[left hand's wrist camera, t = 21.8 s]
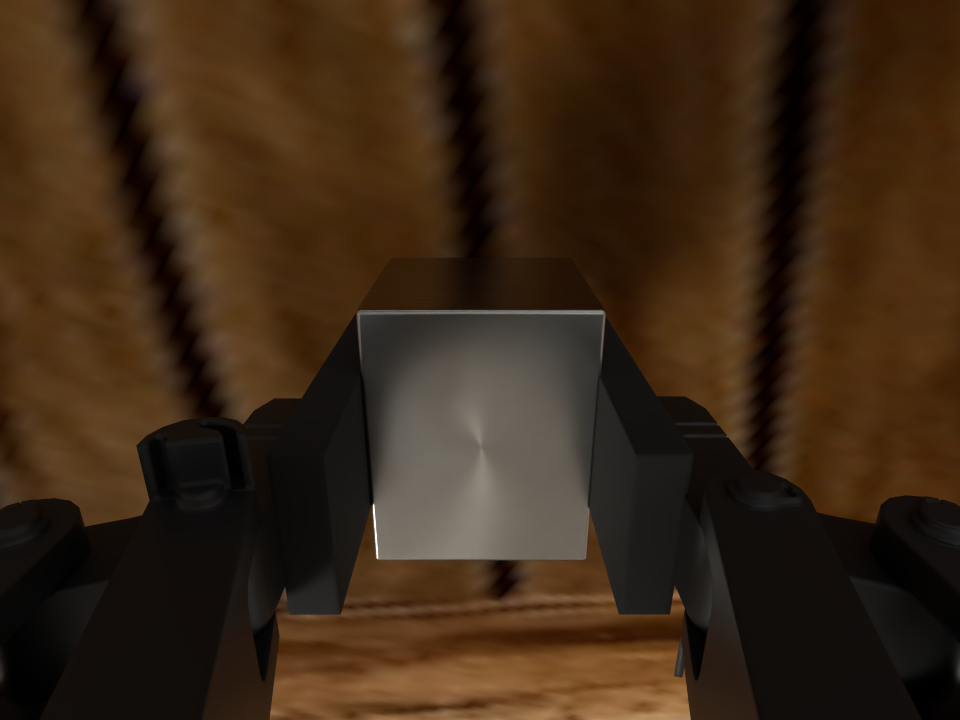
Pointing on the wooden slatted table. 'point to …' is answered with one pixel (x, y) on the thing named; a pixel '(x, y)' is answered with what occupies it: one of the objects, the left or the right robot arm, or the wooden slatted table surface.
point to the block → (480, 407)
